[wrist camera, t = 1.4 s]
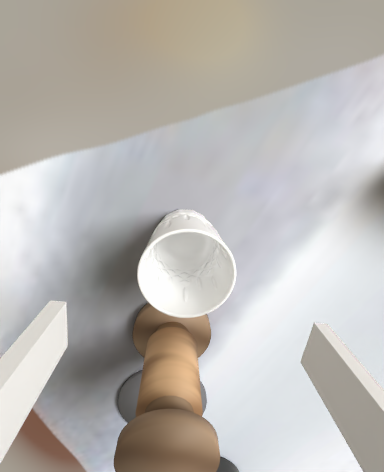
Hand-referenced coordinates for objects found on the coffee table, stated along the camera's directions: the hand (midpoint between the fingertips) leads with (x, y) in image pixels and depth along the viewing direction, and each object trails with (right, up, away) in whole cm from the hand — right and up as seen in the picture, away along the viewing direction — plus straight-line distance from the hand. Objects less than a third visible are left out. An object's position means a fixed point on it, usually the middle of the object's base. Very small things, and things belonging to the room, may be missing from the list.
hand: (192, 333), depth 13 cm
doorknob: (-3, -7, +20) cm, 21 cm away
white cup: (-1, +5, +16) cm, 17 cm away
